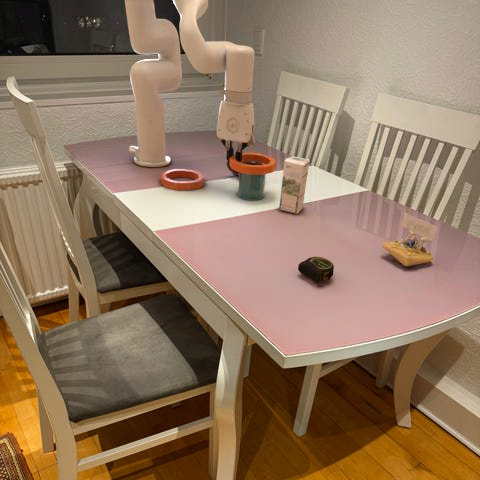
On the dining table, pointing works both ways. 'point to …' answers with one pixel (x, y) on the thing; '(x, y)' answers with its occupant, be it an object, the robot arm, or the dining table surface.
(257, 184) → the tumbler
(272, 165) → the orange ring
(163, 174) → the orange ring
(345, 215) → the dining table surface
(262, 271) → the dining table surface
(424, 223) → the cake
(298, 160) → the syrup box
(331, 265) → the tape measure
